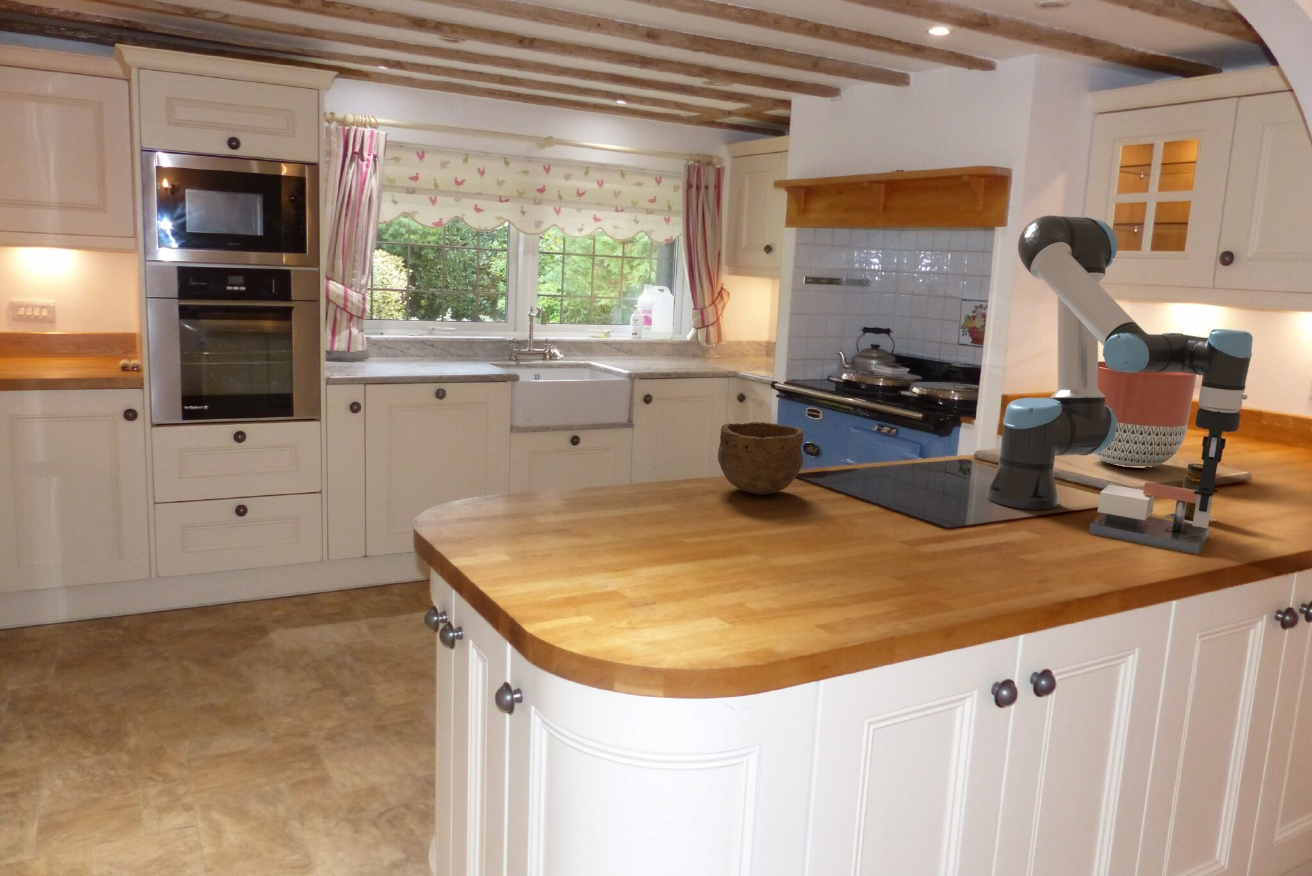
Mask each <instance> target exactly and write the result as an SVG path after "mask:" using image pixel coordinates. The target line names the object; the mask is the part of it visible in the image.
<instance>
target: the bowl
mask: <svg viewBox="0 0 1312 876" xmlns="http://www.w3.org/2000/svg"><path fill="white" fill-rule="evenodd" d="M719 439H720V441H719V446H718V452H717V461H718V463H719V466H720V469H721V471H722V473H723V475H724V476H725V479H726V480H727V482H729V483H730V484H731V485H733V486H734V487H735V488H737V489H739V490H740V491H743V492H746V493H749V494H754V495H759V496H761V495H762V496H763V495H765V496H766V495H771V494H775V493H778V492H781V491H783V490H785V489H786V488H788V487H789V486H790V485H791V484H792V483H793V481H794V480H795V479H796V477H797V476H798V475H799V472H800V471H801V469H802V467H803V463H804V457H803V454H802V449H801V448H802V446H803V442H804V430H803V429H801V428H800V427H799V428H798V427H795V426H791V425H782V424H781V425H779V424H777V423H771V422H770V423H769V422H765V421H762V422H759V421H755V422H754V421H751V422H747V423H745V422H744V423H739V422H737V423H724V424H723V425H722V426H721V427H720V438H719Z"/></svg>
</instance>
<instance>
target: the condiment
mask: <svg viewBox="0 0 1312 876" xmlns="http://www.w3.org/2000/svg"><path fill="white" fill-rule="evenodd" d="M1202 468H1203V463H1196V462H1195V463H1189V464H1187V468H1186V469H1187V470H1186V472H1185V473H1186V474H1185V475H1184V476H1183V481H1182V487H1181V488H1186V489H1192V490H1198V489H1199V486H1200V481H1201V474H1202ZM1195 507H1196V503H1191V502H1187V503H1186V509H1185V515H1184V523H1187V524H1192V525H1193V519H1194V513H1195ZM1174 514H1175V512H1174V513H1173V512H1172V513H1169V514H1167V513H1166V514H1164V516H1165V517H1167V518H1170V519H1174ZM1210 522H1216V519H1215V518H1211V517H1209V523H1210Z"/></svg>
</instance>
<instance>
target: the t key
mask: <svg viewBox="0 0 1312 876" xmlns="http://www.w3.org/2000/svg"><path fill="white" fill-rule="evenodd" d="M1143 490H1144V492H1143V495H1149V496H1155V497H1157V498H1163V499H1169V500H1175V509H1174V513H1175V514H1174V513H1173V514H1174V518H1173V520H1172V521H1173V527H1172V530H1175V531H1182V528H1183V523H1185V521H1184V515H1185V509H1186V503H1187V502H1191V503H1196V500H1197V494H1194V491H1198V490H1192V489H1186V488H1182V487H1178V486H1174V485H1166V484H1159V483H1154V482H1145V483H1144V487H1143Z"/></svg>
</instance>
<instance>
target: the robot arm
mask: <svg viewBox="0 0 1312 876" xmlns="http://www.w3.org/2000/svg"><path fill="white" fill-rule="evenodd" d="M1117 250H1118V240H1117V236H1116V234H1115V232H1114V230H1113V229H1112V226H1110V225H1108V223H1106V222H1105V221H1103V220H1101V219H1095V218H1093V217H1088V216H1085V217H1079V216H1059V215H1044V216H1040V217H1037V218H1035V219H1033V220H1032V221H1030V222H1029V223H1028V224H1027V225H1026V226H1025V227H1024V229H1023V230H1022V231H1021V233H1020V236H1019V239H1018V243H1017V251H1018V255H1019V258H1020V261H1021V263H1022V264H1023V267H1024V268H1025V269H1026V270H1027V271H1028V272H1029V274H1031V275H1032V276H1033V278H1035V279H1037V280H1043V282H1044V283H1045V284H1046V285H1047V286H1048V287H1049V288H1050V289H1051V290H1052V291H1053V292H1054V293H1055V295H1056V296H1057V389H1056V391H1055V392H1054V393H1053V394H1052V395H1051V396H1050V398H1049V397H1024V398H1018V399H1015V400H1011V402H1008V404H1007V405H1006V408H1005V413H1004V417H1003V419H1002V423H1003V424H1002V425H1003V426H1002V435H1001V441H1000V442H1001V445H1000V452H999V459H998V461H999V462H998V466H997V468H996V470H995V472H994V474H993V477H992V478H991V480H990V483H989V485H988V487H987V493H986V498H987V499H988V500H989V501H991V502H994V503H995V504H999V505H1002V506H1006V507H1009V508H1010V507H1011V508H1017V509H1023V510H1034V511H1036V510H1038V511H1039V510H1040V511H1041V510H1051V509H1055V508H1057V506H1058V499H1059V496H1058V495H1059V494H1058V489H1057V486H1056V480H1055V476H1054V466H1055V460H1056V459H1055V457H1058V456H1088V455H1092V454H1093V455H1094V454H1095V453H1099V452H1101V451H1103V450H1105V449H1106V448H1107V446H1108V445H1110V444H1111V442H1112V441H1113V439H1114V437H1115V434H1116V430H1117V420H1116V416H1115V414H1114V413H1112V409H1111V408H1110V407H1108V406H1107V405H1105V395H1104V394H1103V393H1102V392H1101V391H1099V389H1098V362H1099V343H1100V344H1101V345H1102V347H1103V348H1102V357H1103V359H1104V361H1105V363H1106V365H1107V366H1108V367H1109V368H1110V369H1112V370H1114V371H1120V372H1126V373H1135V372H1184V373H1191V374H1196V376H1197V375H1198V376H1202V378H1201V384H1200V390H1199V396H1198V402H1197V405H1199V406H1200V407H1199V408H1198V409H1197V410H1196V417H1195V422H1194V423H1195V427H1197V428H1200V429H1203V430H1208V435H1207V436H1205V435H1203V438H1202V444H1201V446H1202V453H1201V460H1202V462H1203V463H1202V464H1203V468H1202V474H1201V481H1200V486H1199V489H1198V491H1194V494H1197V500H1196V507H1195V513H1194V519H1193V524H1192V526H1197V527H1203V528H1208V527H1209V523H1210V522H1209V518H1211V516H1210V515H1211V512H1212V511H1211V509H1212V505H1213V498H1214V493H1218V490H1219V489H1218V488H1217V487H1216V488H1215V486H1216V483H1215V482H1216V475H1217V469H1218V463H1220V462H1222V457H1223V451H1224V449H1225V448H1226V443H1227V442H1226V441H1227V439H1226V438H1223V437H1222V436H1223V435H1222V434H1223V432H1225V433H1226V432H1227V433H1234V432H1237V431H1238V430H1239V427H1240V421H1241V416H1242V414H1241V412H1239V411H1240V410H1242V408H1243V400H1245V401H1246V400H1247V399H1248V395H1247V394H1244V393H1245V390H1246V386H1247V385H1246V382H1247V378H1248V372H1249V367H1250V363H1251V358H1252V356H1253V352H1252V350H1253V340H1254V339H1253V337H1254V336H1253V335H1252V333H1250V332H1248V331H1245V330H1237V329H1236V330H1234V329H1224V328H1213V329H1211V330H1210V331H1209V335H1208V337H1201V336H1194V335H1190V334H1183V333H1181V332H1178V333H1177V332H1175V333H1174V332H1164V333H1161V334H1154V333H1153V334H1151V333H1150V334H1149V333H1147V332H1146V331H1144V329H1143V328H1142V327H1141V326H1140V325H1139V324H1138V323H1137V322H1135V320H1134V319H1133V318H1132V317H1131V316H1130V315H1129V314H1128V313H1127V311H1125V310H1124V308H1123V307H1121V306H1120V304H1119V303H1117V301H1116V300H1115V299H1114V298H1113V297H1112V296H1111V295H1110V294H1109V293H1108V292H1107V291H1106V290H1105V288H1103V287H1102V286H1101V285H1100V282H1101V281H1102V280H1103V279H1104V278H1105V277H1106V269H1107V268H1108V267H1110V266H1111V265H1112V264H1113V262H1114V261H1113V259H1115V258H1116V255H1117V252H1118V251H1117Z"/></svg>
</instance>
